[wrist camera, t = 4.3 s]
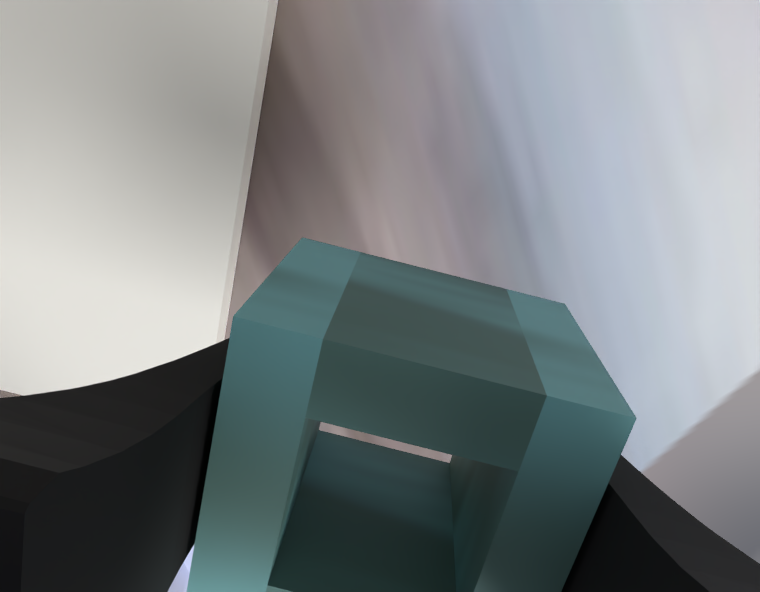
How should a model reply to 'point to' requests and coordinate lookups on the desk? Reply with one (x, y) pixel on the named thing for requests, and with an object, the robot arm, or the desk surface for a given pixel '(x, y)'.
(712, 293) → the desk surface
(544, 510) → the teal hollow square tube
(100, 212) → the white square slab
